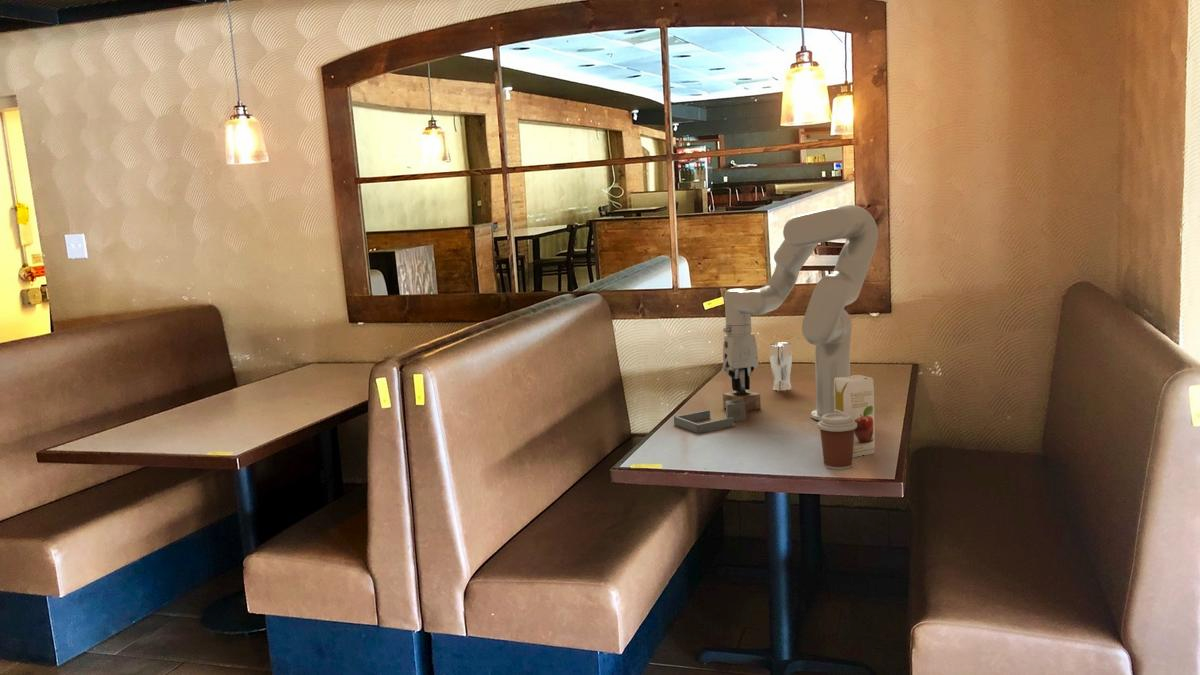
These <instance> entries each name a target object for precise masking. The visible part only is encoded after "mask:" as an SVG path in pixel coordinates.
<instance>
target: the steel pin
mask: <svg viewBox="0 0 1200 675" xmlns="http://www.w3.org/2000/svg"><path fill="white" fill-rule="evenodd" d="M738 378H740V391H739V392H738V391H736V394H737V395H738V396H743V395H746V390H747V389H746V385H745V368H741V369H738Z"/></svg>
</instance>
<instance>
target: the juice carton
mask: <svg viewBox="0 0 1200 675" xmlns="http://www.w3.org/2000/svg"><path fill="white" fill-rule="evenodd" d="M874 384H875V383H874V378H873V377H870V376H866V375H862V374H853V375H852V374H851V375H850V376H849V377H839V378H834V413H845V414H849V415H851V416H852V419H853V420H854V421H855V422H856V423H857V428H856V429H854V441H853V456H852V459H853V458H859V457H863V456H862V455H864V456H869V455H873V454H875V446H876V445H875V442H876V438H875V437H876V436H875V435H876V432H875V431H876V429H875V428H876V427H875V389H874V388H875V387H874V386H875V385H874ZM858 456H859V457H858Z"/></svg>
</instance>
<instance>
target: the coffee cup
mask: <svg viewBox="0 0 1200 675" xmlns="http://www.w3.org/2000/svg"><path fill="white" fill-rule="evenodd" d="M816 426H817V429H818V430H819V431H820V439H821V447H822V455H823V457H822V458H823V466H824V467H825V468H826V467H827V468H826V469H828V468H829V470H833V469H835V470H834V471H839V470H840V471H843V469H844V470H849V469H851V468H852V467H853V458H852V456H853V441H854V429H856V428H857V423H856V422H855V421H854V420H853V419H852V416H851V415H849V414H845V413H829V414H825V415H823V416H822V420H821V421H819V420H818V422H817V424H816Z"/></svg>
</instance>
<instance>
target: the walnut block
mask: <svg viewBox="0 0 1200 675" xmlns="http://www.w3.org/2000/svg"><path fill="white" fill-rule="evenodd" d="M732 400H743V401H744V403H745V412H749V410H750V411H754V410H753V409H755V410H759V409H758V408H760V409H761V408H762V407H761V393H759V392H754V391H751V390H747V389H746V395H743V396H738V395H737V394H736V391H734V390H733V391H730V392H725V393H722V405H723V406H722V408H723V409H725V408H726V401H732Z"/></svg>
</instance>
